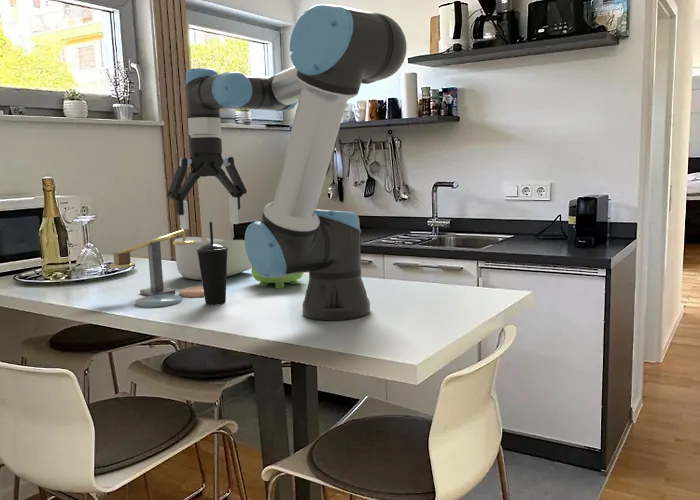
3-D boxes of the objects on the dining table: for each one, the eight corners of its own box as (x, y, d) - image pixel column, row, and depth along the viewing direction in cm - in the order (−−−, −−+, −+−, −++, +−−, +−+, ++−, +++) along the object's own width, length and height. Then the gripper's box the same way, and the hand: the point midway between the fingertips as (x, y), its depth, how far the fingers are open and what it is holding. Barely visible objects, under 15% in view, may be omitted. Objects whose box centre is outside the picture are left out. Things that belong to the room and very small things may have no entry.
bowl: (163, 279, 187) (160, 240, 186) (211, 269, 203) (209, 233, 201) (209, 285, 176) (207, 243, 174) (256, 274, 192) (254, 235, 190)
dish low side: (189, 301, 156) (189, 298, 156) (148, 309, 148) (147, 306, 148) (169, 295, 164) (168, 292, 164) (128, 302, 156) (128, 299, 156)
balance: (204, 288, 171) (200, 229, 169) (120, 304, 156) (114, 238, 153) (190, 284, 177) (186, 227, 175) (107, 299, 161) (102, 236, 159)
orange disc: (230, 291, 166) (230, 288, 166) (193, 299, 159) (192, 296, 158) (208, 286, 174) (208, 283, 174) (172, 293, 167) (172, 290, 166)
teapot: (245, 291, 167) (242, 244, 165) (248, 280, 181) (246, 237, 179) (305, 288, 168) (303, 241, 166) (304, 278, 182) (302, 235, 180)
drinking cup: (224, 307, 149) (219, 223, 146) (194, 306, 150) (188, 223, 148) (236, 299, 156) (231, 220, 153) (207, 299, 158) (202, 220, 155)
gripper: (241, 137, 159) (245, 220, 162) (148, 137, 142) (154, 230, 145) (258, 136, 153) (261, 222, 157) (163, 136, 137) (169, 232, 140)
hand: (210, 226), depth 151 cm, fingers open, 13 cm apart
